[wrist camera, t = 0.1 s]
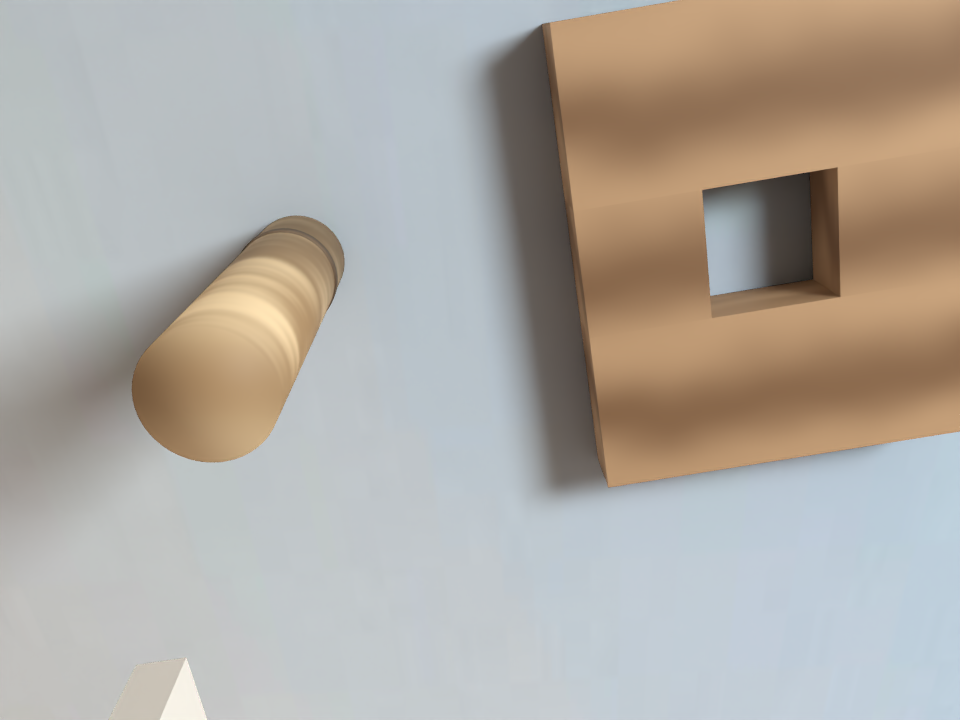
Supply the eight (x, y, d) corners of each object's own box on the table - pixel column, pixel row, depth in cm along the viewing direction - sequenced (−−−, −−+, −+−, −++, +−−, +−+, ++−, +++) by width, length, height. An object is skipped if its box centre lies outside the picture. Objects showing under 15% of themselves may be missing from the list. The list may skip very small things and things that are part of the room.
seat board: (542, 24, 36) (549, 22, 33) (931, -43, 36) (972, -51, 33) (598, 458, 43) (608, 487, 40) (926, 405, 43) (960, 431, 40)
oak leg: (242, 223, 39) (110, 338, 24) (334, 207, 39) (261, 313, 24) (264, 311, 40) (154, 474, 25) (354, 297, 40) (296, 451, 25)
